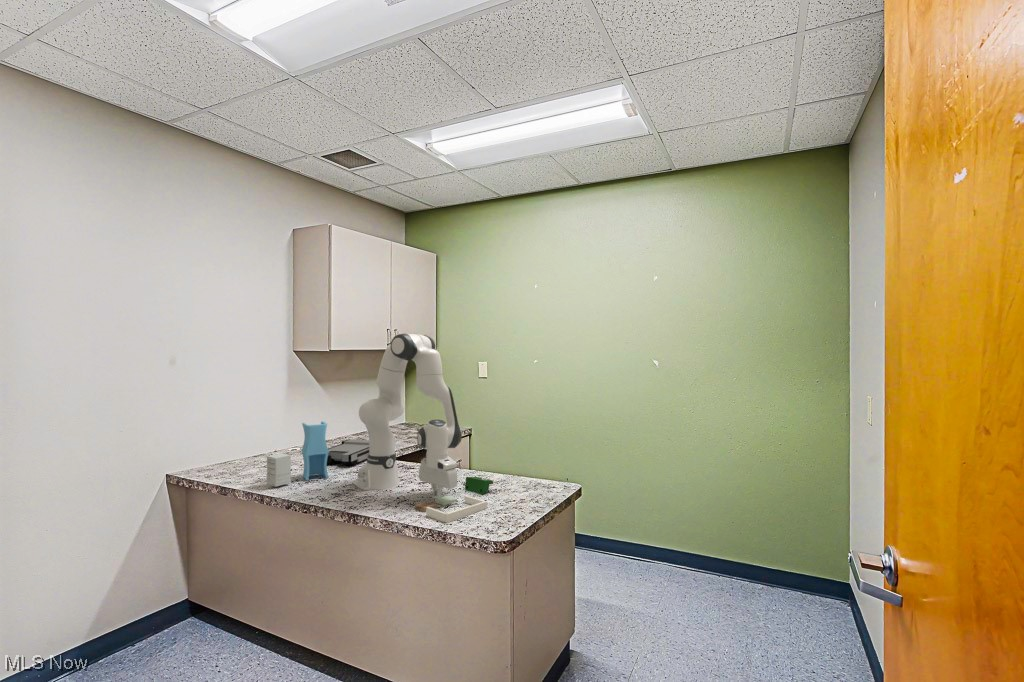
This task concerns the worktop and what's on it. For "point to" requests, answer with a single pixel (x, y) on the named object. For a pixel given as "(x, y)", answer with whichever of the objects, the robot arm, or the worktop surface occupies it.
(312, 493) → the worktop surface
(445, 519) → the white u-shaped frame
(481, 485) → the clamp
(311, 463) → the blue toy chair
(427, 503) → the walnut tile
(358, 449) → the game console
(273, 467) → the supplement box
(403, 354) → the robot arm
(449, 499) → the sage tile
